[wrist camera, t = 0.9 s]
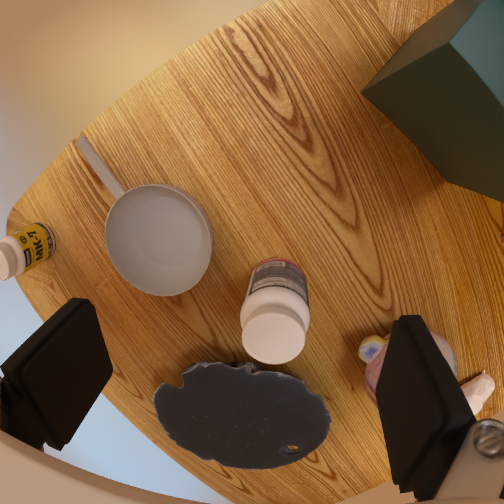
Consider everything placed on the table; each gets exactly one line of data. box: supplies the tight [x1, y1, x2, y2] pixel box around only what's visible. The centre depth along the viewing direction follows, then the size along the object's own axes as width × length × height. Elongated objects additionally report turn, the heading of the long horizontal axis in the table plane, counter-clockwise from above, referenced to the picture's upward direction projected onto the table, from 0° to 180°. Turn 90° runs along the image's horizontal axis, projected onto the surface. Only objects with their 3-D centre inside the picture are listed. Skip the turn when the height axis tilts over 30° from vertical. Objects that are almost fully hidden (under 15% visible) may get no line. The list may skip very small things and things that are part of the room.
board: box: [153, 361, 331, 470], centre depth 36 cm, size 22×22×5 cm
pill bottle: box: [240, 258, 310, 364], centre depth 27 cm, size 6×6×10 cm
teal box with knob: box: [361, 0, 504, 203], centre depth 15 cm, size 12×11×19 cm
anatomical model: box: [358, 328, 457, 408], centre depth 28 cm, size 10×12×10 cm
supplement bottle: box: [0, 222, 55, 280], centre depth 30 cm, size 5×5×8 cm
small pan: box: [76, 135, 213, 296], centre depth 29 cm, size 11×18×4 cm, turn 36°
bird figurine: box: [460, 370, 495, 416], centre depth 32 cm, size 5×7×10 cm
